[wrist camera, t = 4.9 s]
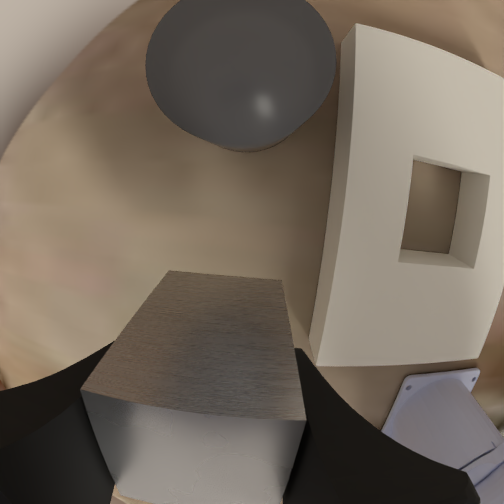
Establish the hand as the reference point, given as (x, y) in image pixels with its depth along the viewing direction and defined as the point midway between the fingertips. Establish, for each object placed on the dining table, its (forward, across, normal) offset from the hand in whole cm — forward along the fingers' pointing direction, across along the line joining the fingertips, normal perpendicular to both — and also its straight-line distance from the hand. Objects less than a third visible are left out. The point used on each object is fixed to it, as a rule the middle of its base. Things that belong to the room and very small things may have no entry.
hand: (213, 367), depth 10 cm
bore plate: (+9, -11, -5) cm, 15 cm away
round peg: (+9, 0, -10) cm, 13 cm away
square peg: (+3, 0, 0) cm, 3 cm away
